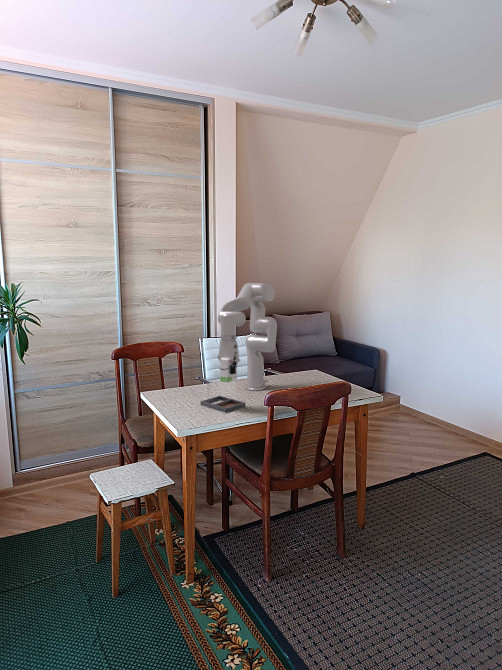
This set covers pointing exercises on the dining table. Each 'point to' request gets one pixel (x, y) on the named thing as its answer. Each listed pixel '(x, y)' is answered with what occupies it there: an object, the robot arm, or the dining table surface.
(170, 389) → the dining table surface
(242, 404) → the rail frame
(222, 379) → the ink box
